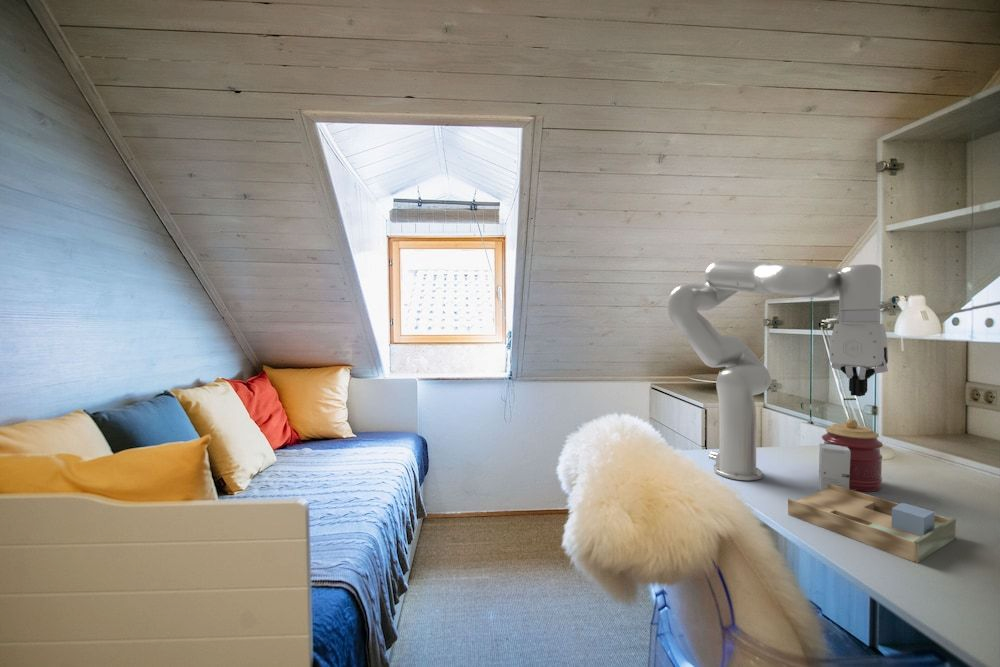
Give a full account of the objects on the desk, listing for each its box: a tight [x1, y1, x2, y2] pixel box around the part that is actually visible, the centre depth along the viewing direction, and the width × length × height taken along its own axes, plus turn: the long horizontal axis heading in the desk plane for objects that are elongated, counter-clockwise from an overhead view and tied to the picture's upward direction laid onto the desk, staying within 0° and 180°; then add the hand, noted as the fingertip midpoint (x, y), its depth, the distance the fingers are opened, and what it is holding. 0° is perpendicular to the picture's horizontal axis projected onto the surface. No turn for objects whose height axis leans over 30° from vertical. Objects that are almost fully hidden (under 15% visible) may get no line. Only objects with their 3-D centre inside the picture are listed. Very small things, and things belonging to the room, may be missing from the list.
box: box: [787, 483, 957, 564], centre depth 96 cm, size 23×18×4 cm
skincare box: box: [817, 442, 851, 492], centre depth 113 cm, size 6×4×12 cm
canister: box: [821, 418, 884, 492], centre depth 119 cm, size 13×13×18 cm
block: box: [891, 502, 936, 537], centre depth 89 cm, size 5×5×4 cm
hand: (857, 395), depth 104 cm, fingers closed
